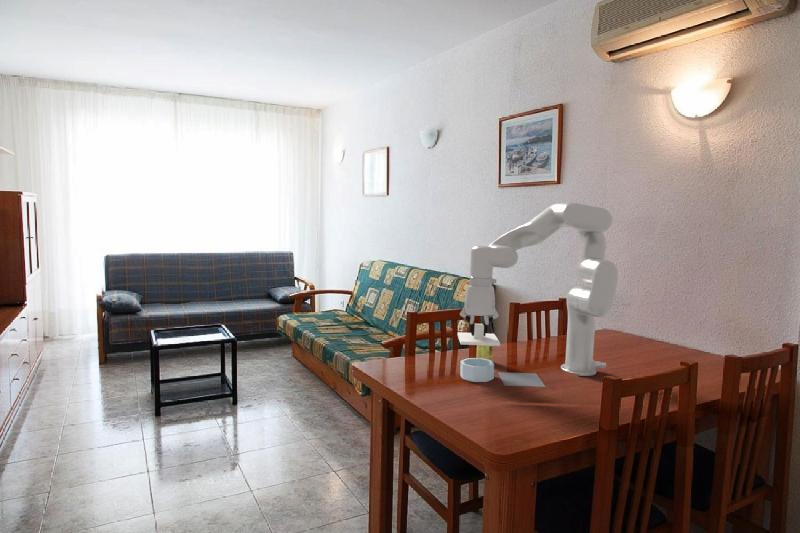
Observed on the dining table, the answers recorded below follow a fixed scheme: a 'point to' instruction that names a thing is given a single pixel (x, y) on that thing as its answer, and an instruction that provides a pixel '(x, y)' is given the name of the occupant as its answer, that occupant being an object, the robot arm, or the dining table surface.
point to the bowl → (477, 369)
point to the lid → (478, 337)
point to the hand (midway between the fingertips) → (478, 334)
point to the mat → (521, 379)
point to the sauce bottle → (485, 350)
